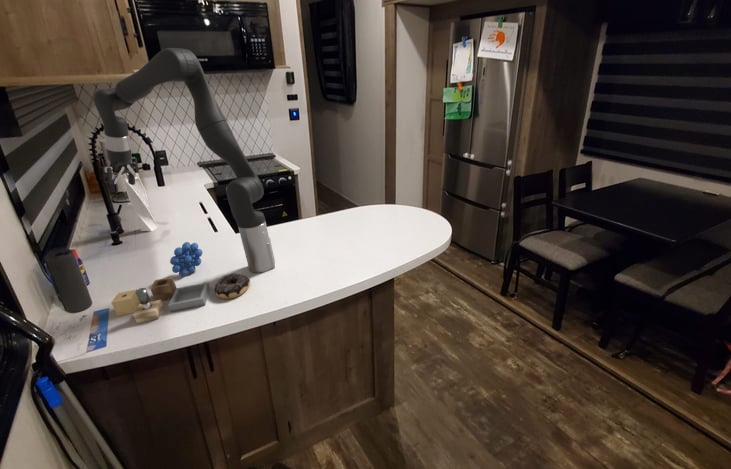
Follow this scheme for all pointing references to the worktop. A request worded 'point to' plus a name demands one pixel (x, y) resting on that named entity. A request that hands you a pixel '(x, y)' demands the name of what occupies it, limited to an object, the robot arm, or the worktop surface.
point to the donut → (232, 286)
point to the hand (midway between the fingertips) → (123, 188)
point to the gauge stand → (149, 312)
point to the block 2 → (163, 289)
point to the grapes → (186, 258)
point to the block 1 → (125, 302)
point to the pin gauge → (143, 298)
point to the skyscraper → (140, 204)
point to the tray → (189, 297)
